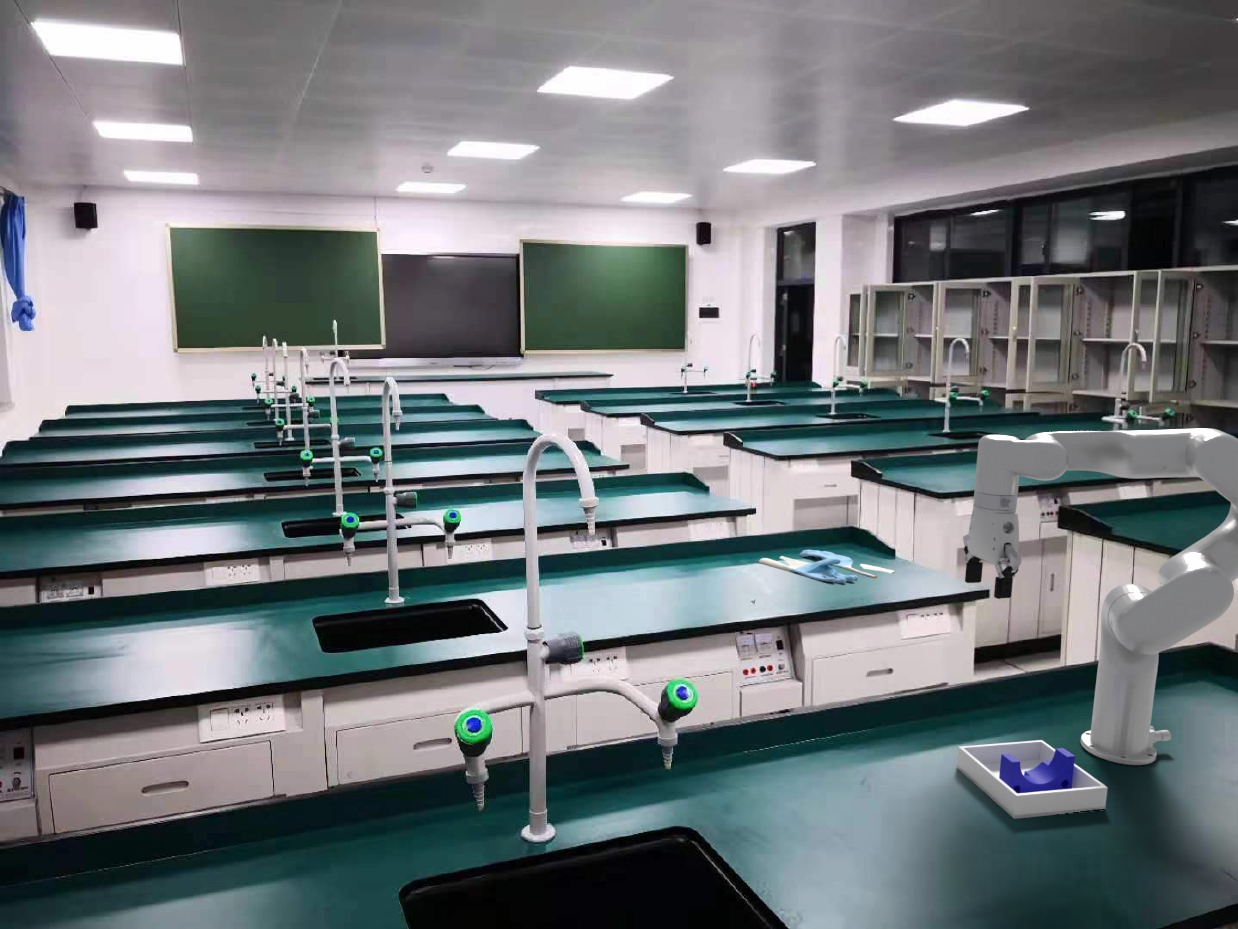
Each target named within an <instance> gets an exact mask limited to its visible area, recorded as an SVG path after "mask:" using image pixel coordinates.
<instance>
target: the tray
mask: <svg viewBox="0 0 1238 929" xmlns="http://www.w3.org/2000/svg"><path fill="white" fill-rule="evenodd" d="M1055 749H1056V748H1054V747H1052V746H1051V745H1050V744H1048V743H1047V742H1045V741H1044V740H1043V739H1037V740H1027V741H1026V740H1025V741H1015V742H1000V743H990V744H989V743H988V744H976V745H974V744H973V745H963V746H960V745H959V746H958V748H957V758H956V759H957V760H956V768H957V770H959V771H960V772H961V773H962V774H963V775H964V776H965V777H967V778H968V779H969V780H970V781H971V782H972V783H973V784H974V785H976V786H977V788H979V789H980V790H981V791H982V792H983V793H984V794H986V795H987V796H988V797H989V798H990V799H991V800H992V801H994V803H996V804H997V805H998V806H999V807H1000V808H1002V810H1004V811H1005V813H1007V814H1008V815H1009V816H1010V817H1011V818H1013V819H1014V820H1017V819H1024V818H1035V817H1036V818H1037V817H1045V816H1046V817H1047V816H1055V815H1057V814H1059V815H1066V814H1065V813H1069V814H1074V813H1073V812H1079V813H1081V812H1080V811H1086V810H1093V809H1105V810H1106V803H1107V796H1108V787H1107V786H1106V785H1105V784H1104V783H1103V782H1101V781H1099V780H1098V779H1097V778H1095V777H1094V776H1092V775H1091V774H1090V773H1088V772H1087V771H1086V770H1084V769H1083V768H1082V767H1080V766H1078V765H1077V764H1076V763H1074V771H1073V780H1072V789H1062V790H1051V791H1040V792H1029V793H1018V794H1017V793H1016V792H1015V791H1014V790H1013V789H1011V788H1010V787H1009V786H1008V785H1007V784H1006V783H1004V782H1003V781H1002V780H1001V779H1000V778H999V774H1000V763H1001V754H1006V753H1010V754H1011V755H1012V756H1014V757H1015V758H1016V759H1018V760H1019V761H1020V768H1021V772H1022V774H1023V775H1024V772H1025V771H1028V770H1031V769H1034V768H1035V767H1037V766H1038V765H1039V764H1040V763H1041V762H1042V761H1052V759H1053V757H1054V754H1055Z"/></svg>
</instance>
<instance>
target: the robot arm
mask: <svg viewBox="0 0 1238 929" xmlns="http://www.w3.org/2000/svg"><path fill="white" fill-rule="evenodd" d="M977 445H978V446H977V457H976V468H975V481H974V493H973V505H972V511H971V516H970V522H969V526H968V528H969V529H968V533H967V534H965V535H963V536H962V541H963V546H964V547H963V551H964V553H965V557H964V560H965V563H966V565H965V573H964V574H965V575H964V582H965V583H966V584H976V583H977V584H978V583H979V584H980V583H981V582H982V578H983V577H982V576H983V566H984V563H983V561H984V562H985V563H988V564H990V565H992V566H994V568H995V571H996V573H997V576H995V578H994V579H995V580H994V591H993V597H994V598H995V599H1010V598H1011V597H1012V592H1013V580H1014V579H1015V577H1016V574H1017V573H1018V571H1019V568H1020V566H1021V564H1022V558H1021V557H1020V555H1019V547H1020V527H1019V525H1020V524H1019V516H1018V512H1017V505H1018V504H1017V503H1018V495H1019V494H1018V493H1019V484H1020V482H1019V481H1020V477H1022V478H1028V479H1033V480H1037V481H1053V480H1054V481H1055V480H1056V479H1059V478H1060V477H1061V476H1063V475H1064V474H1065V472H1066V471H1068V472H1069V471H1087V472H1098V473H1103V474H1107V475H1112V476H1114V477H1118V478H1125V479H1155V478H1159V479H1160V478H1200V479H1201V480H1203V481H1204V482H1205V483H1206V484H1207V485H1209V486H1210V487H1211V488H1212V489H1214V491H1215V492H1217V493H1218V494H1219V495H1221V496H1222V497H1224V498H1225V499H1226V500H1227V501H1229V502H1230V508H1229V511H1228V514H1227V516H1226V518H1225V520H1224V521H1223V522H1222V523H1221V524H1220V525H1219V526H1218V527H1217V528H1215V529H1214V530H1212V531H1211V532H1210V533H1209V534H1207V535H1206V536H1205V537H1202V538H1201V539H1200V540H1198V541H1195V542H1194V543H1193V544H1191V545H1189V546H1188V547H1187V548H1186V547H1185V549H1183V550H1182V551H1180V552H1178V553H1177V554H1175V555H1173V556H1171V557H1170V558H1169V559H1166V560H1165V562H1164V563H1163V564H1162V565H1161V566H1160V568H1159V570H1158V574H1157V582H1158V584H1159V587H1157V588H1155V589H1153V590H1152V591H1151V590H1150V589H1149V588H1147V587H1146V586H1143V585H1140V584H1136V583H1124V584H1120V585H1118V586H1116V587H1114V588H1112V589H1111V590H1110V591H1109V592H1108V593H1107V594H1106V595H1105V598H1104V600H1103V602H1102V605H1101V613H1100V645H1099V655H1098V665H1097V670H1096V671H1097V672H1096V681H1095V682H1096V683H1095V688H1094V700H1093V707H1092V717H1091V725H1090V726H1091V727H1090V730H1087V731H1085V732H1083V733H1082V734H1081V735H1080V736H1081V737H1080V744H1081V747H1082V748H1084V750H1086V752H1088V753H1090V754H1091V755H1093V756H1095V757H1097V758H1100V759H1103V760H1106V761H1108V762H1112V763H1117V764H1121V765H1128V766H1145V765H1149V764H1152V763H1153V762H1154V761H1156V759H1157V754H1158V752H1157V749H1156V748H1155V747H1154V744H1156V743H1157V742H1165V741H1166V742H1167V741H1171V739H1172V734H1171V732H1170V731H1169V730H1168V729H1161V730H1156V729H1155V727H1154V726H1153V725H1151V722H1152V715H1153V708H1154V707H1153V706H1154V697H1155V690H1156V689H1155V688H1156V683H1157V682H1156V681H1157V677H1158V676H1157V675H1158V667H1159V656H1160V655H1159V653H1162V652H1163V651H1166V650H1168V649H1170V648H1172V647H1174V646H1175V645H1177V644H1178V643H1180V642H1182V641H1183V640H1185V639H1188V638H1189V637H1190V636H1192V635H1194V634H1196V633H1197V632H1199V631H1201V630H1202V629H1203V628H1206V627H1207V626H1208V625H1211V624H1212V623H1213V622H1215V621H1217V620H1218V619H1220V618H1221V617H1222V616H1223V615H1224V614H1225V613H1226V612H1227V611H1228V610H1229V608H1230V607H1231V605H1232V603H1233V600H1234V595H1235V588H1234V585H1233V582H1234V581H1236V580H1238V438H1237V437H1235V436H1234V435H1231V434H1230V433H1226V432H1225V431H1221V430H1219V429H1216V428H1207V427H1206V428H1204V427H1203V428H1202V427H1200V428H1176V429H1175V428H1174V429H1152V430H1151V429H1149V430H1148V429H1146V430H1108V431H1107V430H1105V431H1101V430H1097V431H1095V430H1094V431H1093V430H1090V431H1089V430H1086V431H1084V430H1080V431H1079V430H1077V431H1075V430H1074V431H1072V430H1071V431H1052V432H1051V431H1049V432H1039V433H1038V432H1037V433H1035V434H1032V435H1030V436H1028V437H1026V438H1025V439H1023V440H1021V439H1020V438H1018V437H1016V436H1012V435H1005V434H987V435H983V436H982V437H981V438H979V441H978V444H977ZM1003 567H1004V569H1003Z"/></svg>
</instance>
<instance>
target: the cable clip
mask: <svg viewBox="0 0 1238 929" xmlns="http://www.w3.org/2000/svg"><path fill="white" fill-rule="evenodd" d="M1054 749H1055V754H1054V757H1053V759H1052V761H1042V762H1041V763H1040V764H1039V765H1038V766H1037V767H1035V768H1034V769H1031V770H1028V771H1025V772H1024V775H1023V774H1022V772H1021V768H1020V761H1019V760H1018V759H1016V758H1015V757H1014V756H1012V755H1011V754H1010V753H1006V754H1001V763H1000V774H999V778H1000V779H1001V780H1002V781H1003V782H1004V783H1006V784H1007V785H1008V786H1009V787H1010V788H1011V789H1013V790H1014V791H1015V792H1016V793H1017V794H1018V793H1029V792H1040V791H1051V790H1062V789H1072V780H1073V771H1074V764H1075V763H1076V762H1075V759H1076V756H1075V755H1074V754H1073V753H1072V752H1070V751H1068V750H1067V749H1065V747H1060V748H1054Z"/></svg>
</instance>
